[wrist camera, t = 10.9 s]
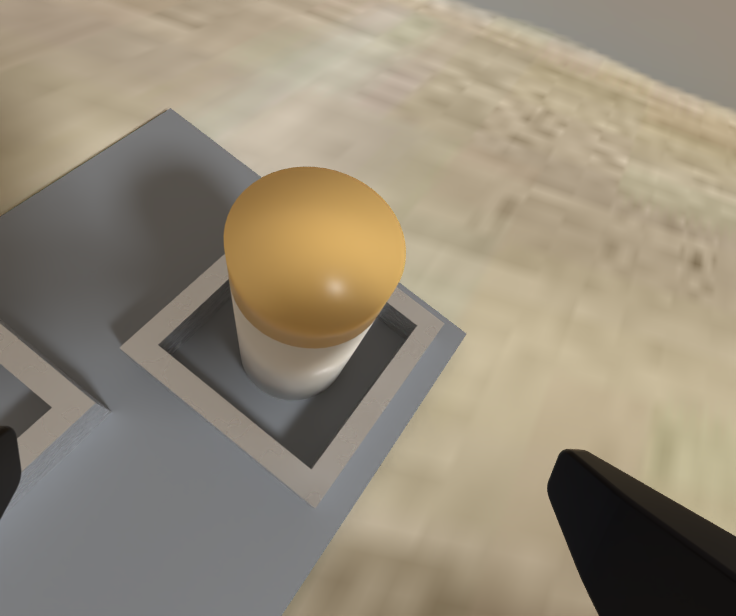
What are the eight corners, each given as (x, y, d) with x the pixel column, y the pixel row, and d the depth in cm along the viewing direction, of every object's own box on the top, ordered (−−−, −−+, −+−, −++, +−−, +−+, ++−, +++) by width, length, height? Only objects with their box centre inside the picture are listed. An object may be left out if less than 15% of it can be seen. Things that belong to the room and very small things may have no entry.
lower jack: (430, 336, 23) (444, 323, 21) (310, 507, 18) (315, 508, 17) (282, 223, 23) (283, 201, 22) (132, 361, 19) (119, 347, 17)
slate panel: (462, 336, 24) (466, 333, 23) (89, 903, 13) (82, 917, 13) (172, 115, 25) (170, 108, 25) (-374, 468, 15) (-395, 467, 14)
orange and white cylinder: (362, 373, 21) (437, 285, 12) (265, 419, 19) (270, 355, 10) (318, 287, 22) (356, 150, 13) (223, 323, 21) (195, 192, 12)
